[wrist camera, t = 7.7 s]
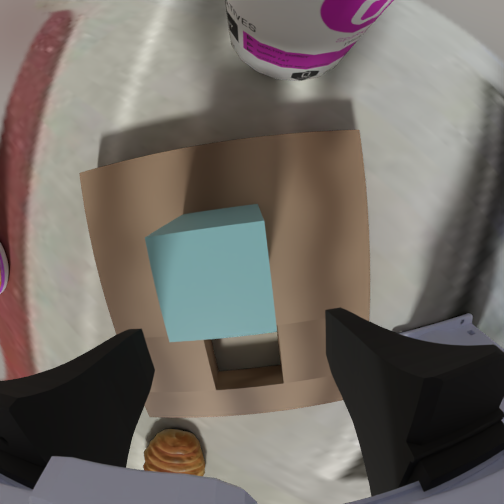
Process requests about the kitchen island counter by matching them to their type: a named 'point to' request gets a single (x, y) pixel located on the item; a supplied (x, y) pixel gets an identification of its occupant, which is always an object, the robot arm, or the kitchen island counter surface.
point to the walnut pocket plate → (279, 251)
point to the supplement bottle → (3, 269)
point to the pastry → (174, 453)
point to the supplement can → (298, 33)
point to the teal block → (213, 274)
